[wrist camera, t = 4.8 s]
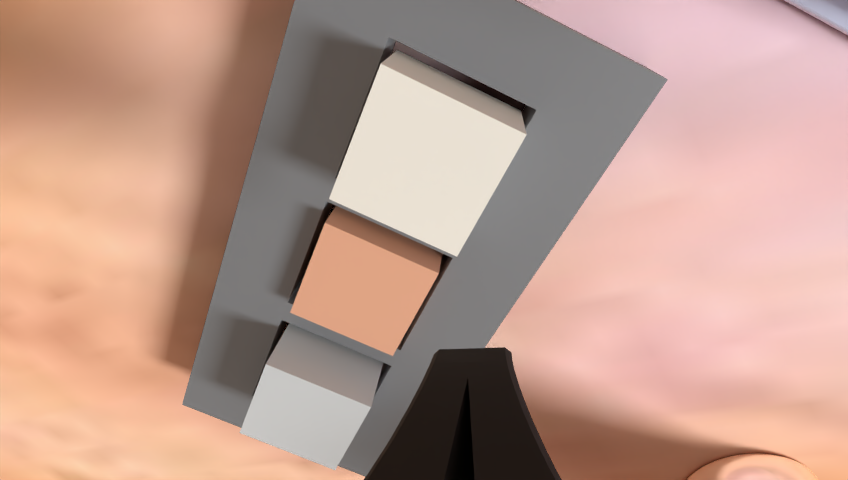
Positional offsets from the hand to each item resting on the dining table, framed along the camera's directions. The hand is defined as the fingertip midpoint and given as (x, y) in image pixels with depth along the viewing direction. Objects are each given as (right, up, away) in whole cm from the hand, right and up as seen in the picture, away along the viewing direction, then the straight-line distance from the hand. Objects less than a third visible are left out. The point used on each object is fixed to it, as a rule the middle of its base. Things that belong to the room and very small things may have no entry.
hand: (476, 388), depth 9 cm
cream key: (-1, +6, +6) cm, 8 cm away
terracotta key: (-3, +2, +10) cm, 10 cm away
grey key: (-5, -3, +11) cm, 13 cm away
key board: (-3, +2, +10) cm, 11 cm away
